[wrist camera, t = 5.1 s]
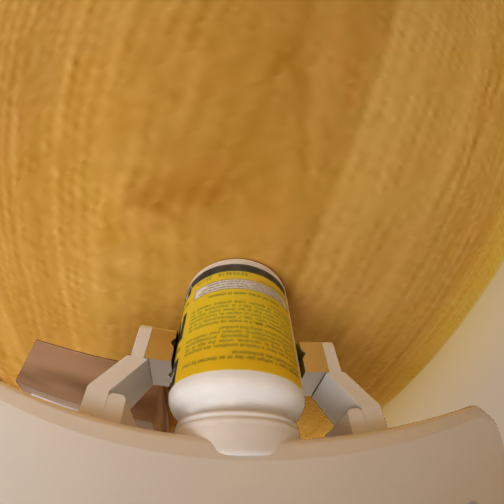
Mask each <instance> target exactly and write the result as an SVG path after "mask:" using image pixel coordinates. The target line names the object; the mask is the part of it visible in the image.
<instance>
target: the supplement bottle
mask: <svg viewBox="0 0 504 504" xmlns="http://www.w3.org/2000/svg"><path fill="white" fill-rule="evenodd" d="M168 403H169V408H170V411H171V413H172V415H173V416H174V417H175V419H176V420H177V421H178V423H177V424H176V426H175V431H174V432H173V433H174V434H182V435H190V436H198V437H202V438H205V439H207V440H209V441H210V442H211V443H212V444H213V445H214V447H215V449H216V450H217V451H218V452H220V453H222V454H226V455H239V456H260V455H270V454H272V453H274V452H275V450H276V448H277V446H278V445H279V444H280V443H281V442H283V441H285V440H294V439H300V433H299V429H298V426H297V425H296V424H295V423H296V422H297V420H298V419H299V418H300V417H301V415H302V413H303V410H304V406H305V398H304V390H303V384H302V379H301V373H300V368H299V362H298V357H297V351H296V346H295V340H294V334H293V328H292V323H291V318H290V312H289V307H288V302H287V296H286V291H285V288H284V286H283V284H282V282H281V280H280V279H279V277H278V276H277V275H276V274H275V273H274V272H273V271H272V270H271V269H269V268H268V267H266V266H264V265H262V264H260V263H258V262H255V261H251V260H246V259H227V260H222V261H219V262H216V263H213V264H211V265H209V266H207V267H205V268H204V269H202V270H201V271H200V272H199V273H198V274H197V275H196V276H195V277H194V278H193V280H192V282H191V283H190V286H189V288H188V292H187V296H186V300H185V306H184V311H183V316H182V321H181V326H180V331H179V336H178V341H177V346H176V353H175V358H174V363H173V368H172V375H171V382H170V385H169V396H168Z"/></svg>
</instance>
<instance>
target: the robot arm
mask: <svg viewBox="0 0 504 504" xmlns="http://www.w3.org/2000/svg"><path fill="white" fill-rule="evenodd" d="M177 341H178V331H177V330H171V329H165V328H159V327H153V326H147V325H141V326H140V328H139V331H138V334H137V337H136V340H135V343H134V346H133V350H132V353H131V355H127V356H125V357H124V358H123V359H121V360H120V361H119V362H117V363H116V364H115V365H113V366H112V367H111V368H110V369H108V370H107V371H106V372H104V373H103V374H102V375H100V376H99V377H98V378H96V379H95V380H94V381H93V382H91V383H90V384H89V385H87V388H86V391H85V394H84V397H83V400H82V403H81V406H80V409H79V412H77V411H74V410H71V409H68V408H65V407H62V406H59V405H57V404H54V403H51V402H48V401H46V400H43V399H41V398H38V397H36V396H33V395H31V394H28V393H26V392H24V391H21V390H19V389H17V388H15V387H13V386H10V385H8V384H6V383H4V382H2V381H0V504H504V444H503V441H502V438H501V436H500V432H499V430H498V427H497V425H496V423H495V421H494V420H493V419H492V418H491V417H490V416H489V415H488V414H487V413H485V412H484V411H483V410H482V409H480V408H479V407H477V406H469V407H466V408H463V409H460V410H457V411H454V412H451V413H448V414H444V415H441V416H438V417H434V418H431V419H427V420H423V421H419V422H416V423H411V424H407V425H402V426H398V427H393V428H387V424H386V421H385V418H384V415H383V412H382V409H381V405H380V404H379V403H378V402H377V401H376V400H374V399H373V398H372V397H371V396H370V395H369V394H368V393H367V392H366V391H365V390H364V389H362V388H361V387H360V386H359V385H358V384H357V383H356V382H355V381H354V380H353V379H352V378H350V377H349V376H348V375H347V374H346V373H345V372H342V371H341V368H340V365H339V361H338V358H337V355H336V352H335V348H334V345H333V343H332V342H305V341H298V342H297V343H296V344H295V346H296V351H297V357H298V362H299V368H300V373H301V379H302V384H303V390H304V396H312V398H313V400H314V401H315V402H316V404H317V405H318V406H319V407H320V409H321V410H322V411H323V412H324V414H325V415H326V416H327V417H328V418H329V420H330V421H331V422H332V423H333V425H334V427H333V428H332V429H331V430H330V431H329V432H328V433H327V434H326V435H325V436H326V437H325V438H312V439H294V440H285V441H283V442H281V443H280V444H279V445H278V446H277V448H276V450H275V452H274V453H272V454H270V455H260V456H239V455H226V454H222V453H220V452H218V451H217V450H216V449H215V447H214V445H213V444H212V443H211V442H210V441H209V440H207V439H205V438H202V437H198V436H190V435H182V434H174V433H168V432H161V431H156V430H150V429H145V428H140V427H136V423H135V421H134V418H133V416H132V413H131V411H130V409H131V408H132V407H133V406H134V405H135V404H136V403H137V402H138V401H139V400H140V398H141V397H142V396H143V395H144V394H145V393H146V392H147V391H148V390H149V389H150V388H151V387H152V386H153V385H159V386H167V387H169V385H170V382H171V375H172V368H173V363H174V358H175V353H176V346H177Z"/></svg>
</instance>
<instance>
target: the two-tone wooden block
mask: <svg viewBox="0 0 504 504" xmlns="http://www.w3.org/2000/svg"><path fill="white" fill-rule="evenodd" d="M117 362H119V361H114V360H110V359H105V358H101V357H97V356H92V355H88V354H84V353H81V352H77V351H73V350H69V349H66V348H62V347H59V346H55V345H52V344H49V343H46V342H42V341H39V340H36V342H35V344H34V345H33V347H32V349H31V351H30V353H29V355H28V357H27V359H26V361H25V363H24V365H23V367H22V369H21V371H20V373H19V375H18V377H17V379H16V382H17V384H18V385H19V386H20V388H21V389H22V390H23V391H24V392H26V393H28V394H31V395H33V396H36V397H38V398H41V399H43V400H46V401H48V402H51V403H54V404H57V405H59V406H62V407H65V408H68V409H71V410H74V411H77V412H79V409H80V406H81V403H82V400H83V397H84V394H85V391H86V388H87V385H89V384H90V383H91V382H93V381H94V380H95V379H96V378H98V377H99V376H100V375H102V374H103V373H104V372H106V371H107V370H108V369H110V368H111V367H112V366H113V365H115V364H116V363H117ZM130 411H131V413H132V416H133V418H134V421H135V423H136V427H140V428H145V429H150V430H156V431H161V432H168V433H170V422H169V416H168V410H167V403H166V397H165V390H164V386H159V385H153V386H152V387H151V388H150V389H149V390H148V391H147V392H146V393H145V394H144V395H143V396H142V397H141V398H140V400H139V401H138V402H137V403H136V404H135V405H134V406H133V407H132V408H131V409H130Z"/></svg>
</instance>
